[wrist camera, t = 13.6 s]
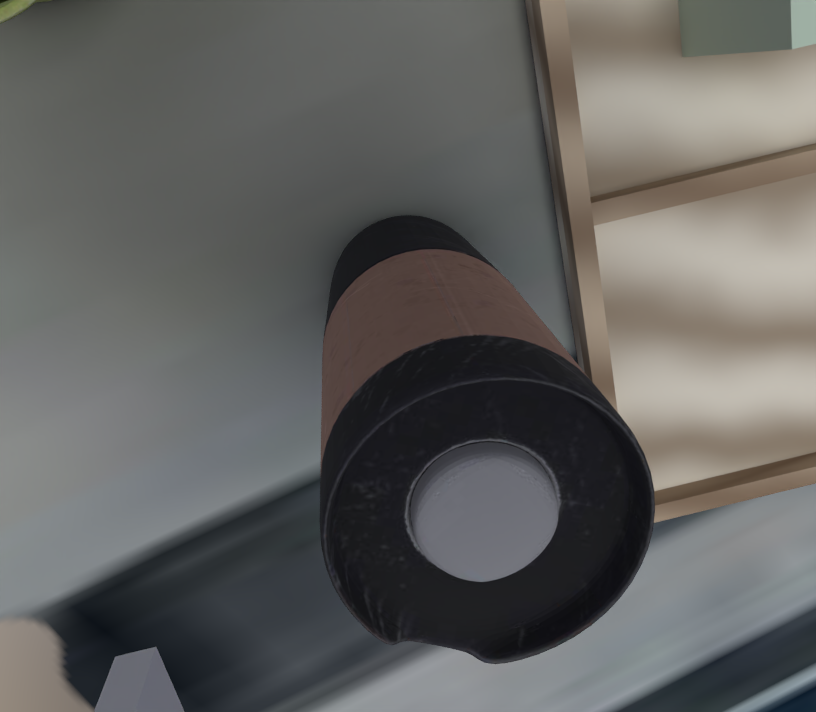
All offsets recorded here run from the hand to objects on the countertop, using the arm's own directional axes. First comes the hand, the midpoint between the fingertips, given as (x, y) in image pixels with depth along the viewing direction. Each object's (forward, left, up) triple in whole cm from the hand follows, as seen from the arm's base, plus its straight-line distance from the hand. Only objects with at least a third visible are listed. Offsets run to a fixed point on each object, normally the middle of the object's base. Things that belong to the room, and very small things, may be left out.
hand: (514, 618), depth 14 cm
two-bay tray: (-2, +16, -22) cm, 28 cm away
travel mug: (0, 0, -23) cm, 23 cm away
